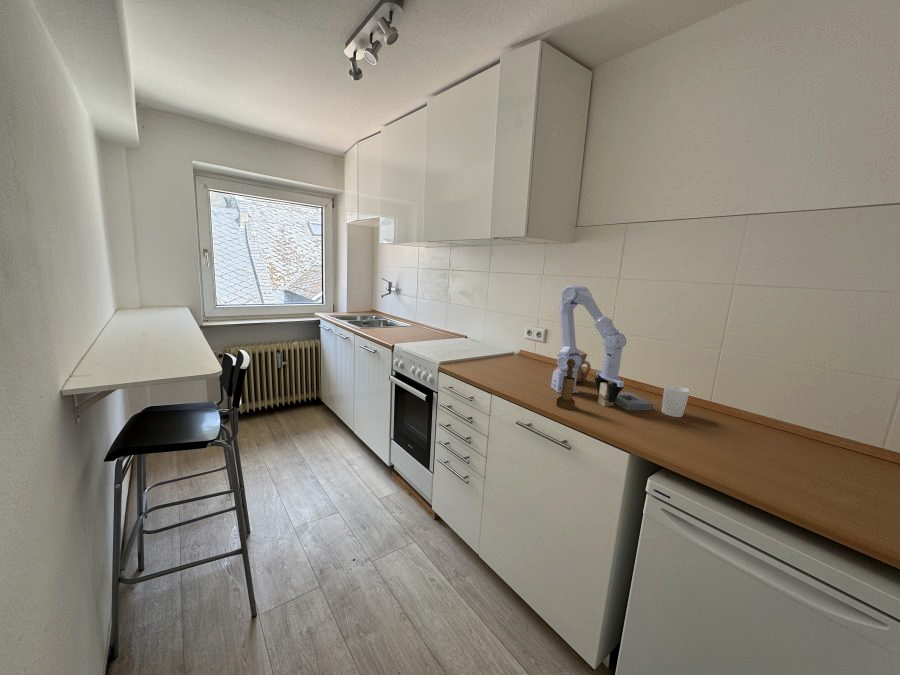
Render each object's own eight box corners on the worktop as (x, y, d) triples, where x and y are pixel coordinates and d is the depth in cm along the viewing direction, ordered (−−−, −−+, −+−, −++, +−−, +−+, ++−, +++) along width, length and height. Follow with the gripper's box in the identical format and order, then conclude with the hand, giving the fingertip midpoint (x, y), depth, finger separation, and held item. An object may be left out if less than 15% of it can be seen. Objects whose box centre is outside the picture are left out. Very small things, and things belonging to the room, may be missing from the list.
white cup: (660, 414, 132) (665, 388, 130) (659, 408, 139) (663, 383, 137) (685, 419, 128) (690, 393, 126) (683, 413, 135) (688, 387, 133)
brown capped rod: (575, 410, 130) (582, 362, 126) (557, 408, 131) (563, 360, 128) (573, 404, 136) (579, 358, 133) (555, 401, 137) (561, 356, 134)
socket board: (626, 410, 134) (627, 404, 133) (605, 397, 146) (606, 392, 146) (652, 410, 136) (653, 403, 135) (629, 397, 148) (630, 392, 148)
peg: (603, 406, 137) (606, 386, 135) (597, 402, 141) (600, 382, 139) (613, 406, 137) (616, 386, 136) (606, 402, 141) (609, 382, 140)
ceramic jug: (545, 376, 172) (548, 347, 169) (565, 373, 180) (568, 345, 177) (576, 388, 157) (581, 357, 154) (596, 384, 165) (601, 354, 162)
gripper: (633, 370, 130) (627, 406, 132) (609, 360, 144) (604, 392, 146) (616, 370, 129) (610, 406, 131) (593, 360, 143) (588, 392, 145)
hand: (606, 399), depth 139 cm, fingers open, 6 cm apart
